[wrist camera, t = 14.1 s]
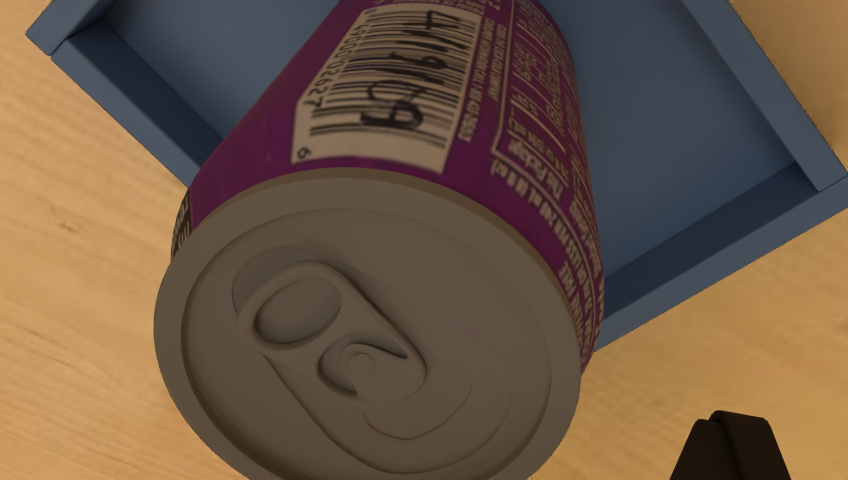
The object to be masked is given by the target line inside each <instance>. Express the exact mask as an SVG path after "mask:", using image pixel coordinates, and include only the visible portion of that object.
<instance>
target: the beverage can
mask: <svg viewBox="0 0 848 480" xmlns="http://www.w3.org/2000/svg"><path fill="white" fill-rule="evenodd" d="M603 310H604V272H603V263H602V256H601V249H600V242H599V235H598V228H597V221H596V214H595V207H594V200H593V193H592V186H591V179H590V173H589V166H588V159H587V152H586V145H585V138H584V131H583V124H582V117H581V110H580V103H579V96H578V89H577V82H576V75H575V70H574V65H573V61H572V57H571V54H570V51H569V48H568V46H567V43H566V41H565V39H564V37H563V34H562V32H561V31H560V29H559V27H558V26H557V24H556V22H555V21H554V19H553V18H552V17H551V15H550V14H549V13H548V11H547V10H546V9H545V8H544V7H543V5H542V4H541V3H540V2H539V1H538V0H340V1H339V2H338V3H337V5H336V6H335V7H334V8H333V9H332V10H331V12H330V13H329V14H328V15H327V16H326V18H325V19H324V20H323V21H322V22H321V24H320V25H319V26H318V27H317V28H316V30H315V31H314V32H313V33H312V34H311V36H310V37H309V38H308V39H307V40H306V42H305V43H304V44H303V45H302V46H301V48H300V49H299V50H298V51H297V52H296V54H295V55H294V56H293V57H292V58H291V60H290V61H289V62H288V63H287V64H286V65H285V67H284V68H283V69H282V70H281V71H280V73H279V74H278V75H277V76H276V77H275V79H274V80H273V81H272V82H271V83H270V85H269V86H268V87H267V88H266V89H265V91H264V92H263V93H262V94H261V95H260V97H259V98H258V99H257V100H256V101H255V103H254V104H253V105H252V106H251V107H250V109H249V110H248V111H247V112H246V113H245V114H244V116H243V117H242V118H241V119H240V120H239V122H238V123H237V124H236V125H235V126H234V128H233V129H232V130H231V131H230V132H229V134H228V135H227V136H226V137H225V138H224V140H223V141H222V142H221V143H220V144H219V146H218V147H217V148H216V149H215V150H214V152H213V153H212V154H211V155H210V156H209V158H208V159H207V160H206V161H205V163H204V164H203V166H202V167H201V169H200V170H199V172H198V173H197V175H196V176H195V178H194V179H193V181H192V183H191V185H190V186H189V188H188V190H187V192H186V194H185V197H184V199H183V201H182V203H181V206H180V209H179V212H178V215H177V219H176V223H175V227H174V232H173V239H172V246H171V263H170V265H169V266H168V269H167V271H166V273H165V275H164V277H163V280H162V283H161V286H160V289H159V291H158V296H157V300H156V305H155V313H154V343H155V350H156V356H157V360H158V364H159V368H160V371H161V374H162V377H163V380H164V382H165V385H166V387H167V389H168V391H169V393H170V396H171V397H172V399H173V401H174V403H175V405H176V406H177V408H178V410H179V411H180V413H181V414H182V416H183V417H184V419H185V420H186V421H187V423H188V424H189V425H190V427H191V428H192V429H193V431H194V432H195V433H196V434H197V435H198V436H199V437H200V439H201V440H202V441H203V442H204V443H205V444H206V445H207V446H208V447H209V448H210V449H211V450H212V451H213V452H214V453H215V454H217V455H218V456H219V457H220V458H221V459H222V460H223V461H225V462H226V463H227V464H229V465H230V466H231V467H232V468H234V469H235V470H236V471H238V472H239V473H241V474H242V475H244V476H245V477H247V478H248V479H250V480H527V479H528V478H529V477H530V476H532V475H533V474H534V473H535V472H536V471H537V470H538V469H539V468H540V467H541V466H542V465H543V464H544V463H545V462H546V461H547V460H548V459H549V457H550V456H551V455H552V454H553V452H554V451H555V450H556V449H557V447H558V445H559V444H560V442H561V441H562V439H563V438H564V436H565V434H566V432H567V430H568V428H569V426H570V424H571V421H572V418H573V416H574V413H575V410H576V406H577V403H578V398H579V392H580V384H581V376H582V374H583V373H584V371H585V369H586V367H587V365H588V363H589V361H590V359H591V356H592V354H593V351H594V349H595V346H596V343H597V340H598V336H599V333H600V329H601V324H602V318H603Z"/></svg>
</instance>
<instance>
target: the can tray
mask: <svg viewBox="0 0 848 480" xmlns="http://www.w3.org/2000/svg"><path fill="white" fill-rule="evenodd" d="M339 1H340V0H52V2H51V3H50V4H49V5H48V6H47V7H46V9H45V10H44V11H43V12H42V13H41V14H40V16H39V17H38V18H37V19H36V20H35V22H34V23H33V24H32V25H31V26H30V27H29V29H28V30H27V31H26V34H25V35H26V36H27V37H28V38H29V39H30V40H31V41H32V42H33V43H34V44H35V45H36V46H37V47H38V48H39V49H41V50H42V51H43V52H44V53H45V54H46V55H48V56H51V60H52V61H53V62H54V63H55V64H56V65H57V66H58V67H60V68H61V69H62V70H63V71H64V72H65V73H66V74H67V75H68V76H69V77H70V78H71V79H72V80H73V81H74V82H76V83H77V84H78V85H79V86H80V87H81V88H82V89H83V90H84V91H85V92H86V93H87V94H88V95H89V96H90V97H91V98H93V99H94V100H95V101H96V102H97V103H98V104H99V105H100V106H101V107H102V108H103V109H104V110H105V111H106V112H107V113H109V114H110V115H111V116H112V117H113V118H114V119H115V120H116V121H117V122H118V123H119V124H120V125H121V126H122V127H123V128H125V129H126V130H127V131H128V132H129V133H130V134H131V135H132V136H133V137H134V138H135V139H136V140H137V141H138V142H139V143H141V144H142V145H143V146H144V147H145V148H146V149H147V150H148V151H149V152H150V153H151V154H152V155H153V156H154V157H155V158H156V159H158V160H159V161H160V162H161V163H162V164H163V165H164V166H165V167H166V168H167V169H168V170H169V171H170V172H171V173H172V174H174V175H175V176H176V177H177V178H178V179H179V180H180V181H181V182H182V183H183V184H184V185H185V186H186V187H187V188H189V186H190V185H191V183H192V181H193V179H194V178H195V176H196V175H197V173H198V172H199V170H200V169H201V167H202V166H203V164H204V163H205V161H206V160H207V159H208V158H209V156H210V155H211V154H212V153H213V152H214V150H215V149H216V148H217V147H218V146H219V144H220V143H221V142H222V141H223V140H224V138H225V137H226V136H227V135H228V134H229V132H230V131H231V130H232V129H233V128H234V126H235V125H236V124H237V123H238V122H239V120H240V119H241V118H242V117H243V116H244V114H245V113H246V112H247V111H248V110H249V109H250V107H251V106H252V105H253V104H254V103H255V101H256V100H257V99H258V98H259V97H260V95H261V94H262V93H263V92H264V91H265V89H266V88H267V87H268V86H269V85H270V83H271V82H272V81H273V80H274V79H275V77H276V76H277V75H278V74H279V73H280V71H281V70H282V69H283V68H284V67H285V65H286V64H287V63H288V62H289V61H290V60H291V58H292V57H293V56H294V55H295V54H296V52H297V51H298V50H299V49H300V48H301V46H302V45H303V44H304V43H305V42H306V40H307V39H308V38H309V37H310V36H311V34H312V33H313V32H314V31H315V30H316V28H317V27H318V26H319V25H320V24H321V22H322V21H323V20H324V19H325V18H326V16H327V15H328V14H329V13H330V12H331V10H332V9H333V8H334V7H335V6H336V5H337V3H338V2H339ZM538 1H539V2H540V3H541V4H542V5H543V7H544V8H545V9H546V10H547V11H548V13H549V14H550V15H551V17H552V18H553V19H554V21H555V22H556V24H557V26H558V27H559V29H560V31H561V32H562V34H563V37H564V39H565V41H566V43H567V46H568V48H569V51H570V54H571V57H572V61H573V65H574V70H575V75H576V82H577V89H578V96H579V103H580V110H581V117H582V124H583V131H584V138H585V145H586V152H587V159H588V166H589V173H590V179H591V186H592V193H593V200H594V207H595V214H596V221H597V228H598V235H599V242H600V249H601V256H602V263H603V272H604V310H603V318H602V324H601V329H600V333H599V336H598V340H597V343H596V346H595V349H594V351H593V353H594V352H596V351H597V350H599V349H601V348H603V347H604V346H606V345H608V344H610V343H611V342H613V341H615V340H617V339H618V338H620V337H622V336H624V335H625V334H627V333H629V332H631V331H632V330H634V329H636V328H638V327H639V326H641V325H643V324H645V323H646V322H648V321H650V320H652V319H653V318H655V317H657V316H659V315H660V314H662V313H664V312H666V311H667V310H669V309H671V308H673V307H674V306H676V305H678V304H680V303H681V302H683V301H685V300H687V299H688V298H690V297H692V296H694V295H695V294H697V293H699V292H701V291H702V290H704V289H706V288H708V287H709V286H711V285H713V284H715V283H716V282H718V281H720V280H722V279H723V278H725V277H727V276H729V275H730V274H732V273H734V272H736V271H737V270H739V269H741V268H743V267H744V266H746V265H748V264H750V263H751V262H753V261H755V260H757V259H758V258H760V257H762V256H764V255H765V254H767V253H769V252H771V251H772V250H774V249H776V248H778V247H779V246H781V245H783V244H785V243H786V242H788V241H790V240H792V239H793V238H795V237H797V236H799V235H800V234H802V233H804V232H806V231H807V230H809V229H811V228H813V227H814V226H816V225H818V224H820V223H821V222H823V221H825V220H827V219H829V218H830V217H832V216H834V215H836V214H837V213H839V212H841V211H843V210H844V209H846V208H848V172H847V170H846V169H845V167H844V166H843V164H842V163H841V162H840V160H839V159H838V157H837V156H836V154H835V153H834V152H833V150H832V149H831V147H830V146H829V144H828V143H827V142H826V140H825V139H824V137H823V136H822V134H821V133H820V132H819V130H818V129H817V127H816V126H815V124H814V123H813V121H812V120H811V119H810V117H809V116H808V114H807V113H806V111H805V110H804V109H803V107H802V106H801V104H800V103H799V101H798V100H797V99H796V97H795V96H794V94H793V93H792V91H791V90H790V89H789V87H788V86H787V84H786V83H785V81H784V80H783V79H782V77H781V76H780V74H779V73H778V71H777V70H776V68H775V67H774V66H773V64H772V63H771V61H770V60H769V58H768V57H767V56H766V54H765V53H764V51H763V50H762V48H761V47H760V46H759V44H758V43H757V41H756V40H755V38H754V37H753V36H752V34H751V33H750V31H749V30H748V28H747V27H746V26H745V24H744V23H743V21H742V20H741V18H740V17H739V15H738V14H737V13H736V11H735V10H734V8H733V7H732V5H731V4H730V3H729V1H728V0H538Z"/></svg>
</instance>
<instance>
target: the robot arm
mask: <svg viewBox="0 0 848 480" xmlns="http://www.w3.org/2000/svg"><path fill="white" fill-rule="evenodd" d="M670 480H791V478H790V475H789V473H788V470H787V468H786V465H785V462H784V460H783V457H782V455H781V452H780V450H779V447H778V444H777V442H776V439H775V437H774V434H773V431H772V429H771V427H770V425H769V423H768V421H767V420H765V419H764V418H761V417H755V416H750V415H744V414H738V413H733V412H727V411H721V410H718V411H715V412H714V413H713V414H712V415H711V416H710V418H709V420H704V419H698V420H697V421H696V422H695V424H694V425H693V427H692V430H691V432H690V434H689V436H688V439H687V441H686V443H685V446H684V448H683V450H682V452H681V455H680V457H679V459H678V461H677V464H676V466H675V468H674V471H673V473H672V475H671V477H670Z"/></svg>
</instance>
